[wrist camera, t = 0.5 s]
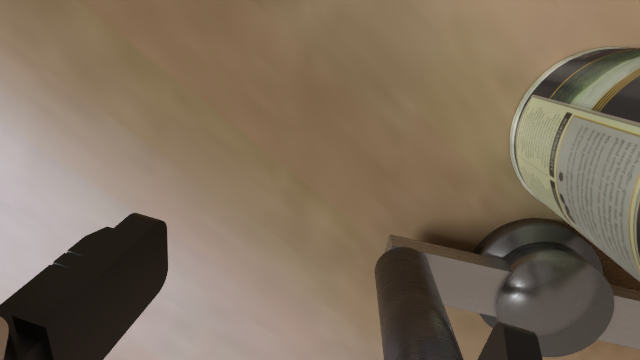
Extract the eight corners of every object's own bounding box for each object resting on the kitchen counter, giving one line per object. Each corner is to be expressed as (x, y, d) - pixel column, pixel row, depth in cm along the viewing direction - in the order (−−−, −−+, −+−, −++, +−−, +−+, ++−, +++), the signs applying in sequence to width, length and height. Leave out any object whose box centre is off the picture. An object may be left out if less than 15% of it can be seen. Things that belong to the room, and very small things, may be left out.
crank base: (611, 233, 29) (624, 243, 27) (564, 338, 31) (575, 352, 30) (488, 206, 29) (495, 214, 27) (451, 312, 31) (456, 325, 30)
